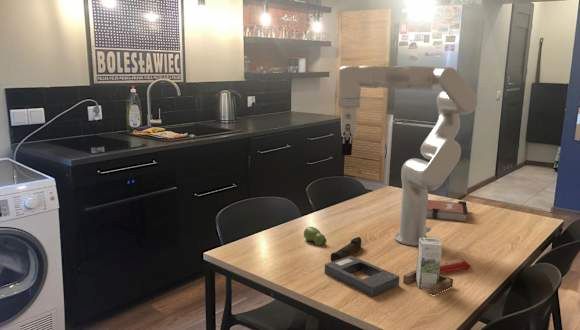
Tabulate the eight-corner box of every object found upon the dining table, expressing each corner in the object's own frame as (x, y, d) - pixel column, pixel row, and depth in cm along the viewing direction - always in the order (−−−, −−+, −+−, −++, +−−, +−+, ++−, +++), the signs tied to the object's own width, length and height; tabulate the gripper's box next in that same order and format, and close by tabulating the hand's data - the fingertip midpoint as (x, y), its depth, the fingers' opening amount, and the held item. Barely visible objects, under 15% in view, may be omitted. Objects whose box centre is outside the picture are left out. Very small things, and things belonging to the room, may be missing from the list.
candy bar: (432, 277, 151) (433, 268, 150) (425, 272, 154) (426, 263, 153) (472, 269, 157) (473, 261, 156) (464, 265, 160) (465, 257, 159)
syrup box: (434, 281, 147) (438, 237, 144) (438, 290, 141) (442, 244, 138) (415, 280, 147) (419, 236, 144) (418, 289, 141) (422, 243, 138)
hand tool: (339, 266, 157) (340, 252, 156) (329, 262, 160) (330, 249, 159) (367, 249, 172) (368, 237, 171) (357, 246, 174) (358, 234, 173)
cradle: (421, 274, 152) (422, 267, 151) (452, 286, 143) (453, 279, 143) (403, 282, 146) (403, 275, 145) (433, 296, 137) (434, 288, 137)
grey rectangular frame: (350, 263, 158) (350, 254, 158) (398, 285, 143) (399, 275, 143) (324, 273, 151) (324, 263, 150) (372, 297, 136) (373, 286, 135)
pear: (312, 223, 181) (330, 234, 174) (310, 235, 183) (328, 247, 176) (301, 226, 178) (320, 237, 171) (299, 238, 179) (317, 250, 173)
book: (404, 216, 211) (405, 206, 210) (407, 206, 227) (407, 196, 226) (466, 223, 203) (468, 212, 202) (464, 212, 220) (465, 201, 219)
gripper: (360, 105, 152) (357, 157, 156) (360, 101, 169) (358, 148, 172) (336, 104, 153) (334, 156, 157) (339, 100, 170) (337, 147, 173)
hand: (347, 152), depth 164 cm, fingers open, 9 cm apart
